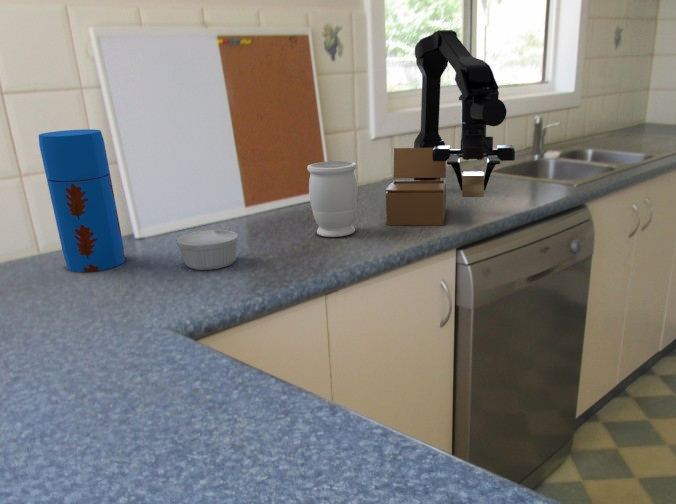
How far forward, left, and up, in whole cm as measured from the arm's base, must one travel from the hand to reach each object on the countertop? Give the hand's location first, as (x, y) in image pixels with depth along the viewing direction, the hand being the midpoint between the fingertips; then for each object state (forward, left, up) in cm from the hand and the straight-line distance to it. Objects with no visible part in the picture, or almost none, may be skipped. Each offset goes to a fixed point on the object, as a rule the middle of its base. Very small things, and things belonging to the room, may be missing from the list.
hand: (472, 190), depth 157 cm
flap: (-14, +2, +6) cm, 15 cm away
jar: (-24, -25, -6) cm, 35 cm away
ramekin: (-37, -52, -6) cm, 64 cm away
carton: (-12, -6, -6) cm, 15 cm away
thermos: (-59, -59, -6) cm, 83 cm away
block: (0, 0, -1) cm, 1 cm away
